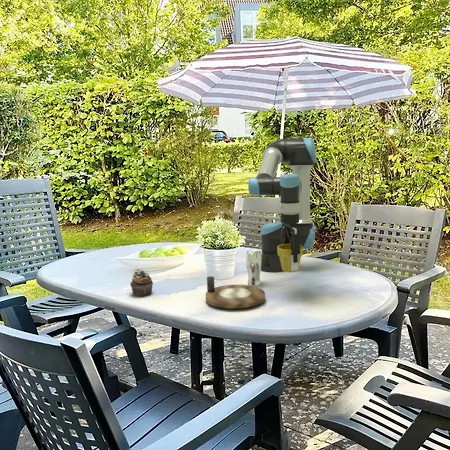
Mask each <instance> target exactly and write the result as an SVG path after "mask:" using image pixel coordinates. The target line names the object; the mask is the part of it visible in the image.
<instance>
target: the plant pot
mask: <svg viewBox="0 0 450 450" xmlns="http://www.w3.org/2000/svg"><path fill="white" fill-rule="evenodd" d="M277 253H278V256H279V257H280V262H281V267H282V270H283V271H282V272H288V273H294V272H298V270H299V268H300V265H301V259H302V257H303V256H304V255H303V254H304V249H303V246H301V245H300V254H298V270H293V271H292V270H291V255H290V254H291V253H292V250H291V245H290V244H282V245H279V246H278V247H277Z"/></svg>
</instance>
